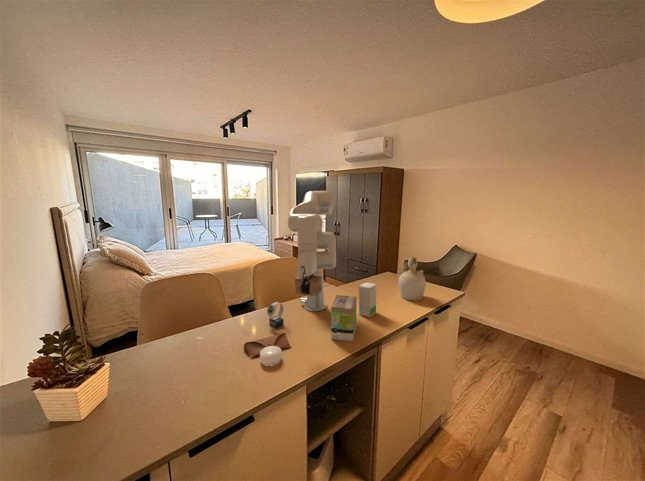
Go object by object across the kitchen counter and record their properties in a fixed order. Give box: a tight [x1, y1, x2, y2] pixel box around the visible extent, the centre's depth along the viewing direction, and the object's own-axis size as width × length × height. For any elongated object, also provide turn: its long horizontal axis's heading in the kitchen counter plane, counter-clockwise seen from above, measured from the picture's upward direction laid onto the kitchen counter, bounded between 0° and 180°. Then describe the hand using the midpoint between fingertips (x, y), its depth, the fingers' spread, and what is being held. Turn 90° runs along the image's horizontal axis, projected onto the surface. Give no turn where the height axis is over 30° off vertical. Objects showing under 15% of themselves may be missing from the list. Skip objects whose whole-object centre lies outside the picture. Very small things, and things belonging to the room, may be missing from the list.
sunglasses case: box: [243, 332, 292, 359], centre depth 106 cm, size 18×7×7 cm
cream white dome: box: [259, 346, 283, 366], centre depth 98 cm, size 8×8×4 cm
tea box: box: [330, 294, 358, 342], centre depth 117 cm, size 15×10×15 cm
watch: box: [266, 301, 285, 329], centre depth 125 cm, size 6×8×11 cm
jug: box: [398, 256, 427, 302], centre depth 156 cm, size 15×16×25 cm
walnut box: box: [294, 274, 322, 296], centre depth 106 cm, size 9×6×6 cm
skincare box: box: [358, 282, 377, 318], centre depth 135 cm, size 8×7×16 cm
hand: (308, 289), depth 106 cm, fingers closed on walnut box, 6 cm apart
